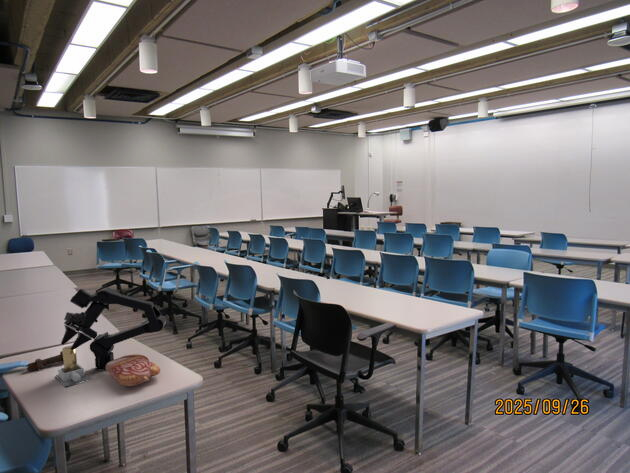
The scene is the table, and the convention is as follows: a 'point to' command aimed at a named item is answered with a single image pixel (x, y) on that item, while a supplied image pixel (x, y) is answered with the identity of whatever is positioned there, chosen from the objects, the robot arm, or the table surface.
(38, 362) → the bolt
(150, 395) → the table surface
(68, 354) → the gold metallic cylinder
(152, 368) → the anatomical model
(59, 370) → the manifold
